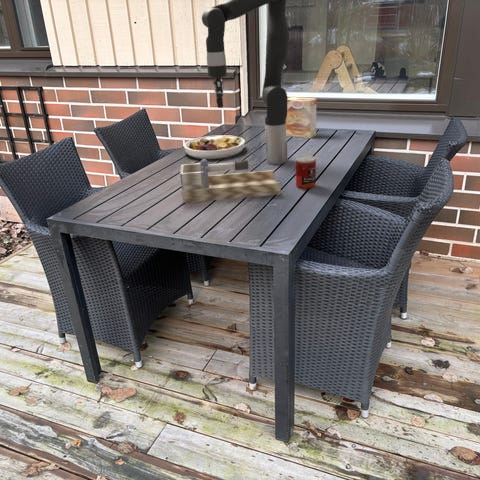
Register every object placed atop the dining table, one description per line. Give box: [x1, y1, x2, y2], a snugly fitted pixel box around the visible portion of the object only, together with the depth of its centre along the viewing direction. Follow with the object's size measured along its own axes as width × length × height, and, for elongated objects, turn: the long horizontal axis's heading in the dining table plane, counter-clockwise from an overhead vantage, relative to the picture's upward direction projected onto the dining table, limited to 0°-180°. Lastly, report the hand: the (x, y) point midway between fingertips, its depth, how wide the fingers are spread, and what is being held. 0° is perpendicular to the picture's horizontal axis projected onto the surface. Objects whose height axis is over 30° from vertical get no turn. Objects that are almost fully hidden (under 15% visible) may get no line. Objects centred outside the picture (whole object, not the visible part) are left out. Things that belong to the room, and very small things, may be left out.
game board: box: [179, 162, 282, 204], centre depth 183 cm, size 36×16×10 cm, turn 95°
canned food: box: [295, 155, 317, 190], centre depth 184 cm, size 8×8×11 cm
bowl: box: [183, 134, 246, 160], centre depth 237 cm, size 30×30×8 cm
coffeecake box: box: [286, 96, 317, 139], centre depth 253 cm, size 15×7×20 cm, turn 55°
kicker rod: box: [199, 159, 251, 189], centre depth 182 cm, size 18×4×11 cm, turn 95°
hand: (219, 105), depth 196 cm, fingers open, 8 cm apart
